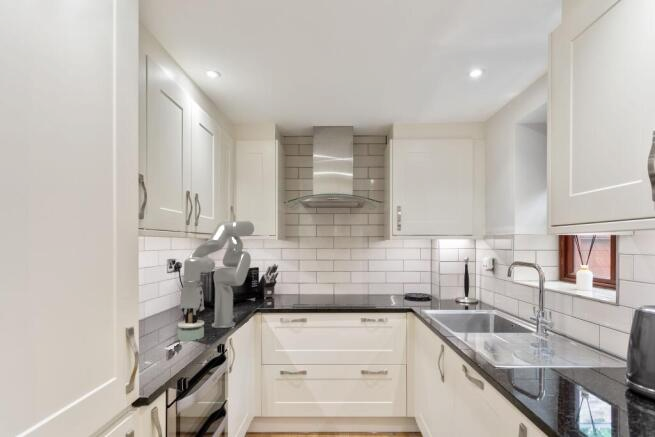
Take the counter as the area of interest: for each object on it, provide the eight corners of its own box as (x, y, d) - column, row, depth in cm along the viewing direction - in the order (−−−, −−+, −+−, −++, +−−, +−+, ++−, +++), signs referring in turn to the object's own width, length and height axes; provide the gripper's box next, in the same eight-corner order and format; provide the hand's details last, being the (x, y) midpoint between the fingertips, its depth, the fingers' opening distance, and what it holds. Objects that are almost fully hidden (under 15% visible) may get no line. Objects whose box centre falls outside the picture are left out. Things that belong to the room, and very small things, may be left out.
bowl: (186, 334, 178) (186, 324, 179) (207, 335, 177) (207, 325, 177) (173, 341, 167) (173, 330, 168) (195, 342, 166) (195, 331, 166)
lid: (186, 321, 179) (187, 310, 180) (208, 322, 177) (209, 311, 178) (172, 327, 168) (172, 315, 168) (195, 328, 165) (196, 316, 166)
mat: (176, 343, 163) (176, 342, 163) (196, 345, 162) (197, 343, 162) (163, 350, 154) (163, 349, 154) (184, 351, 152) (184, 350, 152)
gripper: (211, 283, 176) (210, 321, 175) (181, 282, 179) (180, 320, 178) (203, 285, 168) (202, 325, 167) (172, 284, 171) (171, 323, 170)
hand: (191, 322), depth 172 cm, fingers closed on lid, 3 cm apart
